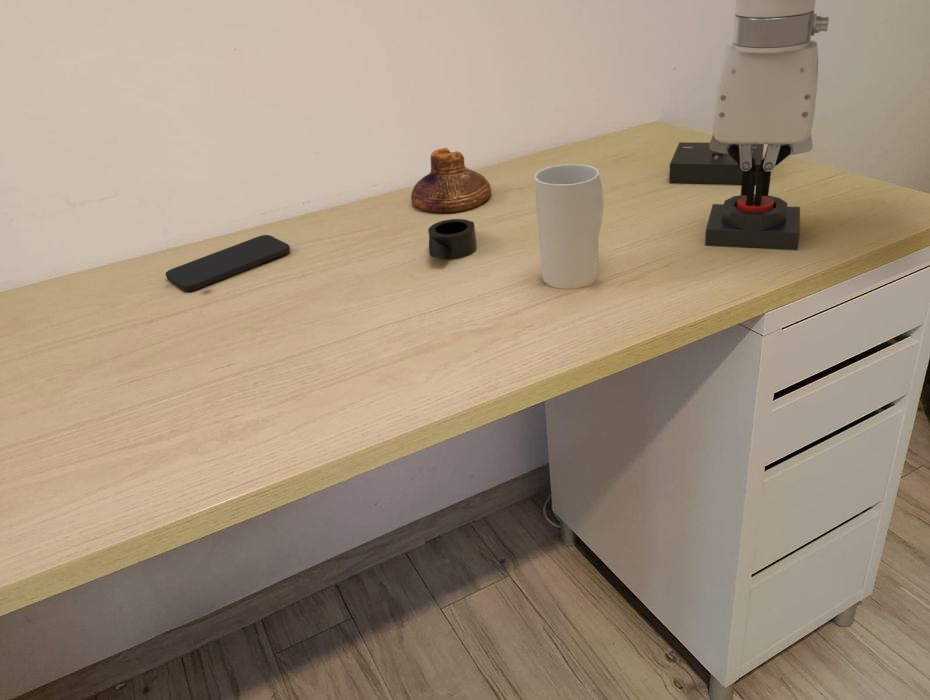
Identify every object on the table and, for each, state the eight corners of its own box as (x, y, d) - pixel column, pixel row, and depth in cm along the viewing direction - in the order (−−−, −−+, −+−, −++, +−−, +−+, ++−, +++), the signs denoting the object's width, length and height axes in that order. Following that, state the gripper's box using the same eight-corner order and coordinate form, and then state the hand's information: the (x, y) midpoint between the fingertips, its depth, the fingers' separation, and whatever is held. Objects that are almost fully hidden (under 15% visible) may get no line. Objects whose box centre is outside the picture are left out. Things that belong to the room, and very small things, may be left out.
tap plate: (762, 158, 112) (764, 137, 110) (758, 186, 102) (761, 163, 101) (680, 157, 116) (681, 137, 114) (669, 183, 107) (669, 162, 105)
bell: (405, 194, 114) (398, 147, 111) (481, 181, 116) (477, 134, 112) (419, 220, 104) (412, 169, 101) (501, 205, 106) (497, 154, 102)
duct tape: (503, 245, 94) (501, 223, 92) (438, 271, 89) (435, 248, 88) (467, 229, 100) (465, 209, 98) (404, 253, 95) (401, 232, 93)
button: (772, 209, 88) (774, 195, 87) (771, 222, 85) (773, 208, 84) (737, 208, 90) (738, 194, 89) (734, 221, 87) (735, 206, 86)
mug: (577, 296, 80) (574, 188, 74) (527, 282, 84) (521, 179, 78) (627, 261, 86) (628, 159, 80) (578, 250, 90) (576, 152, 84)
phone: (162, 272, 96) (266, 233, 103) (164, 277, 96) (267, 238, 104) (184, 288, 91) (292, 246, 98) (187, 294, 91) (294, 251, 99)
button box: (797, 223, 90) (802, 192, 88) (797, 250, 84) (801, 217, 82) (711, 220, 94) (713, 189, 92) (704, 246, 88) (707, 214, 86)
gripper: (850, 21, 77) (824, 192, 87) (700, 28, 83) (690, 188, 92) (854, 35, 71) (825, 216, 81) (692, 41, 77) (683, 210, 86)
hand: (753, 200), depth 86 cm, fingers closed
